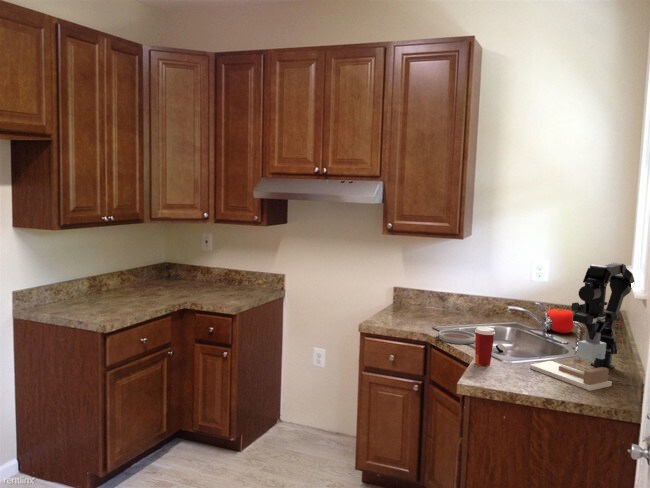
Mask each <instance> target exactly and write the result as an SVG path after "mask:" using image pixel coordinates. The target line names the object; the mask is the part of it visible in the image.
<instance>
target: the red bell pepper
mask: <svg viewBox="0 0 650 488" xmlns="http://www.w3.org/2000/svg"><path fill="white" fill-rule="evenodd" d="M546 313H547V314H548V315H549V317H550V319H551V320H552V321H553V325H552V330H553V332H557V333H559V334H560V333H561V334H567V333H570V332H571V331H572V330H573V329H574V326H575V324H574V325H573V321H572V319H573V315H574V314H573V311H570V310H567V309H564V308H563V309H562V308H558V307H557V308H551V309H549V310H547V312H546ZM552 330H551V331H552Z"/></svg>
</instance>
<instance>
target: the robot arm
mask: <svg viewBox="0 0 650 488" xmlns="http://www.w3.org/2000/svg"><path fill="white" fill-rule="evenodd" d="M633 282H634V283H635V277H634V275H633V273H632V272H631V271H630V270H629V269H628V268H627V266H626V264H625V263H621V262H619V263H618V262H611V263H609V264H605V265H599V264H590V265H589V267H587V270H586V273H585V275H584V278H583V281H582V283H583V284H584V286H582V287H580V289H579V290H578V297H579V298H580V300H581V301H584V303H582V304H581V303H579V302H572V303H571V308H570V310H571V312H574V314H573V319H572V321H574V323H576V322H577V323H579V324H584V325H585V326H586V330H588V334H589V338H590V339H591V340H593V338H594V336H595V334H596V332H598V333H601V337H600V341H601V342H604V343H606V353H605V359H599V358H595V361H593V362H591V363H590V365H591V366H594V367H595V368H599V367H604V368H607V369H609V370H610V369H612V368H615V366H616V365H614V364H613V365H612V361H613V355H617V354H618V351H619V346H618V342H617V340H616V339H617V336H616V333H615V330H614V329H615V326H616V323H617V320H618V317H619V315H620V314H619V313H620V311H621V308H622V304H623V300H624V298H625V297H626V296H627V295H629V294H630V293H631V291H632V288H633V287H632V288H631V283H633ZM608 284H609V285H608ZM608 286H609V288H610V290H611V293H610V296H609V300H608V302H607V301H606V292H607V287H608ZM605 306H606V308H605ZM605 309H606V310H605Z"/></svg>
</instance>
